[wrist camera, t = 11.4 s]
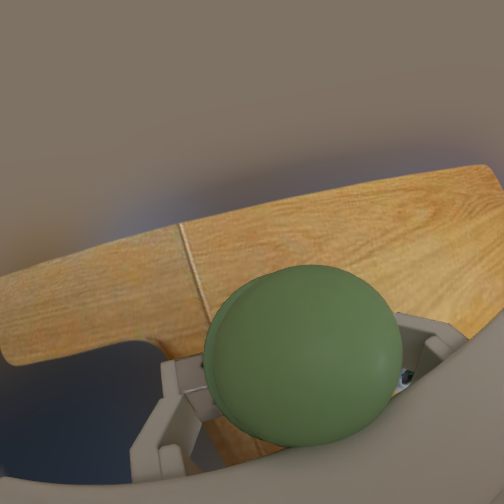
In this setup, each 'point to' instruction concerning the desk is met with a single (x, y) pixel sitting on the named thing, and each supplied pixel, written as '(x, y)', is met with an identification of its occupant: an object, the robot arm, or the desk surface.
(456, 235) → the desk surface
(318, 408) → the green dome-topped cylinder
